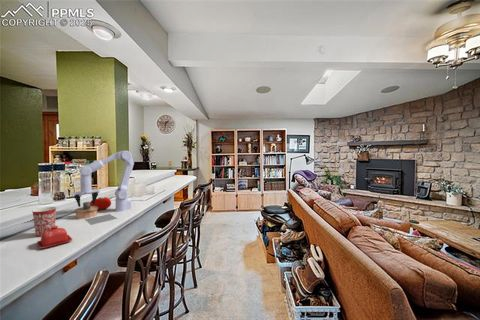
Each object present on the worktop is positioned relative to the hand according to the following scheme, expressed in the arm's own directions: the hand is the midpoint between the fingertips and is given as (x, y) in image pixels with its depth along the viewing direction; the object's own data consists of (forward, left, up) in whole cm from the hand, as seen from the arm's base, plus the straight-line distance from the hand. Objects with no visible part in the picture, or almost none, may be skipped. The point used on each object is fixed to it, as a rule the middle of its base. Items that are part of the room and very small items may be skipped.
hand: (86, 205), depth 133 cm
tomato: (-12, -13, -8) cm, 19 cm away
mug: (+21, +15, -8) cm, 27 cm away
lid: (0, 0, -4) cm, 4 cm away
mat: (-4, +14, -8) cm, 17 cm away
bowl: (0, 0, -8) cm, 8 cm away
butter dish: (+21, +34, -8) cm, 40 cm away
